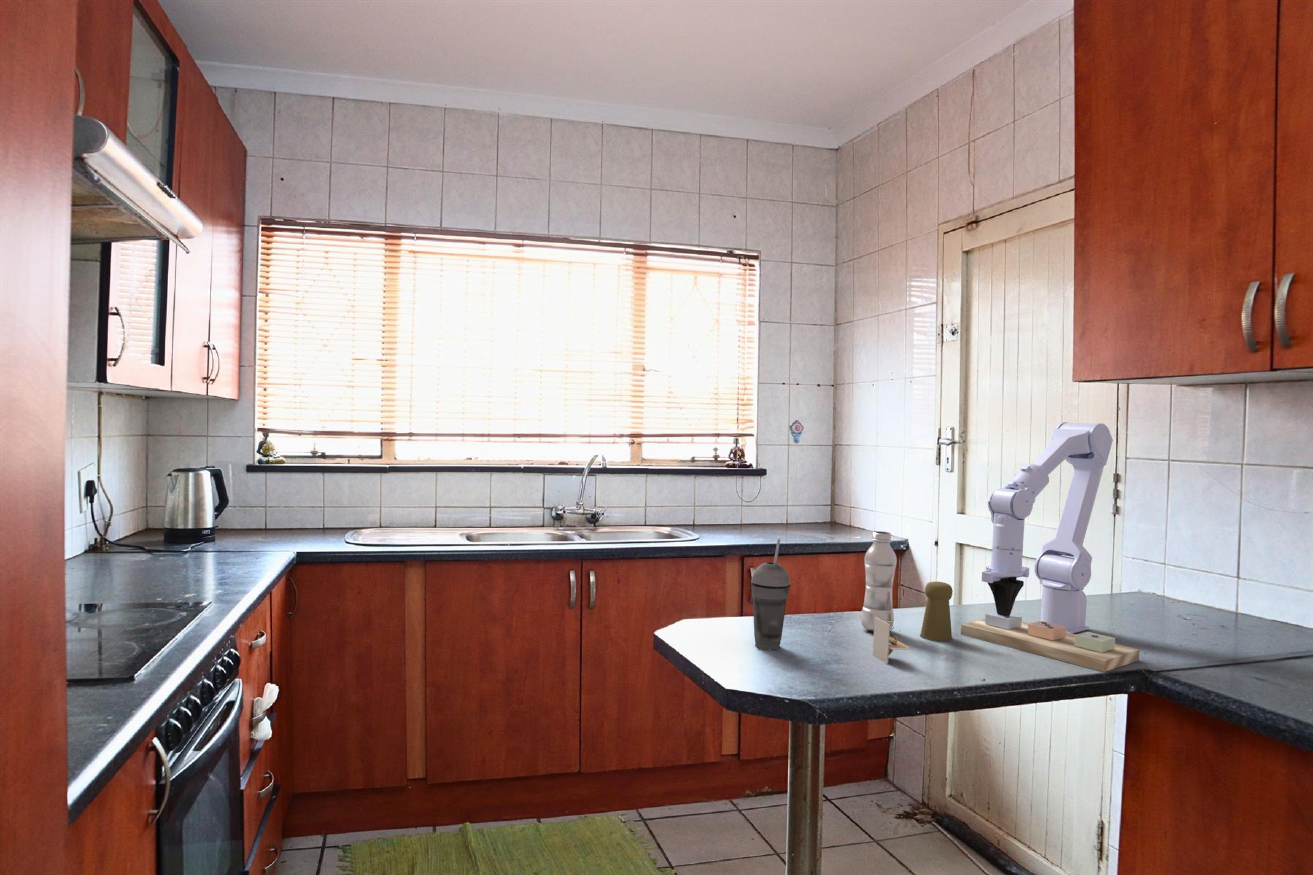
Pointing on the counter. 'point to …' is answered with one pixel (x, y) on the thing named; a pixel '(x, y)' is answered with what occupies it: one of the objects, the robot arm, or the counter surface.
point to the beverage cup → (769, 603)
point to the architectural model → (884, 640)
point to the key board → (1052, 646)
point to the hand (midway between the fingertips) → (1003, 614)
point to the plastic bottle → (879, 580)
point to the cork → (937, 612)
